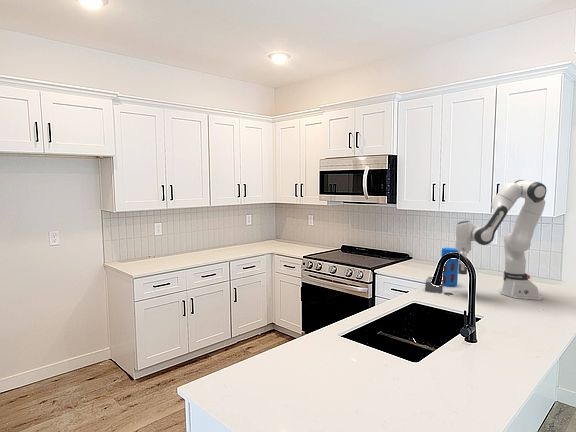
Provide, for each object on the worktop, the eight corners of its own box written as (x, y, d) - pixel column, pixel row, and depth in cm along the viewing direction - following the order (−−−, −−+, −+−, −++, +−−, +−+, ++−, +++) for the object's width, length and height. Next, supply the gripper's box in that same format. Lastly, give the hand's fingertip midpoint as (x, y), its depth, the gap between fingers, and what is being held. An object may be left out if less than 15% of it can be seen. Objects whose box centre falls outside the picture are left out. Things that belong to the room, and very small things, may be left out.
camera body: (442, 289, 255) (443, 277, 254) (441, 293, 247) (442, 280, 246) (426, 288, 259) (426, 276, 259) (425, 291, 251) (425, 278, 250)
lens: (467, 273, 245) (467, 260, 244) (467, 274, 240) (467, 261, 240) (458, 272, 247) (458, 259, 246) (457, 274, 242) (458, 261, 242)
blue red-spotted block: (459, 287, 262) (461, 250, 260) (443, 287, 263) (445, 250, 261) (453, 283, 273) (454, 247, 271) (437, 283, 273) (439, 247, 271)
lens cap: (453, 294, 246) (453, 293, 246) (453, 296, 241) (453, 295, 241) (444, 293, 248) (444, 292, 248) (443, 295, 243) (443, 294, 243)
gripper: (469, 249, 232) (468, 273, 233) (468, 245, 250) (468, 266, 251) (457, 249, 234) (456, 272, 235) (458, 244, 253) (457, 265, 254)
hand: (462, 269), depth 243 cm, fingers closed on lens, 5 cm apart
